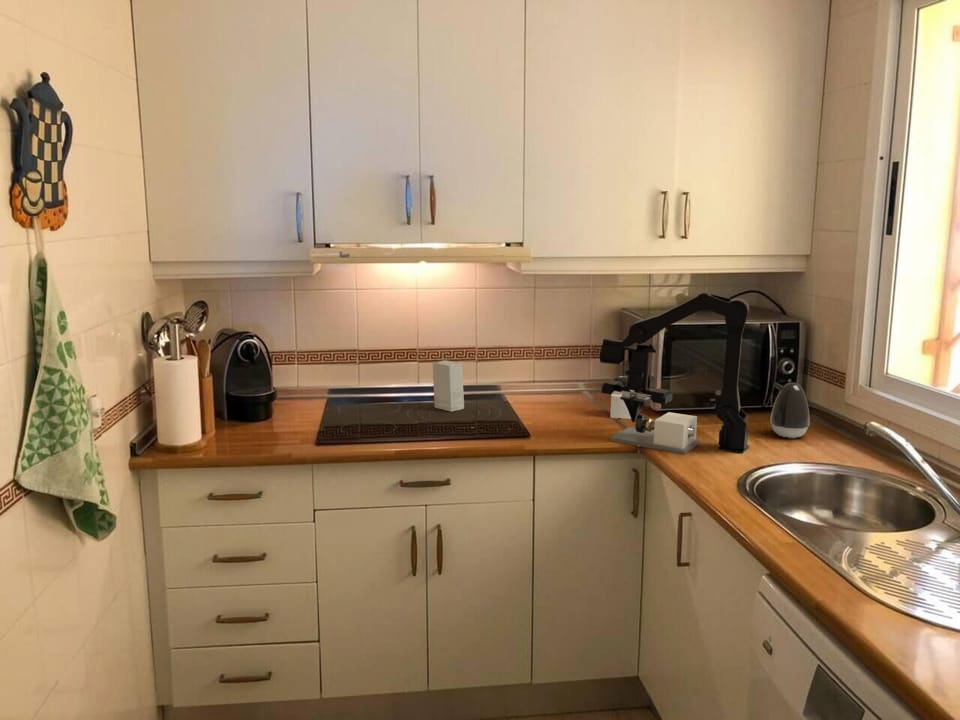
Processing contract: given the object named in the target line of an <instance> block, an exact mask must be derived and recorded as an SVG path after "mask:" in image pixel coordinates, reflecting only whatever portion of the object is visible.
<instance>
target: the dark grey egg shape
mask: <svg viewBox="0 0 960 720" xmlns="http://www.w3.org/2000/svg"><path fill="white" fill-rule="evenodd" d="M773 386H774V387H775V388H776V389H778V390H779V392H778V394H777V396H776V398H775V401H774V403H773V407H772V411H771V415H770V422H769V423H771V428H772V430H773V431H774V433H775V434H776V435H778V436H780V437H781V436H782V438H785V437H788V438H787V439H797V437H798V438H800V437H802V436H803V435H805V433H806V432H807V430H808V428H809V427H810V421H811V420H810V409H809V403H808V400H807V397H806V393H805V391H804V389H803V387H802V386H801V385H800V384H798V383H796V382H789V383H786V384H785V385H784V386H783V385H781V384H779V383H778V382H774V384H773Z"/></svg>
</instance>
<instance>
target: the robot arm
mask: <svg viewBox="0 0 960 720" xmlns="http://www.w3.org/2000/svg"><path fill="white" fill-rule="evenodd" d="M701 310H708V311H711V312H713V313H715V314H717V315H721V316H724V321H725V322H724V323H725V328H726V334H727V336H726V345H725V346H726V347H725V357H724V369H723V370H724V372H723V379H722V380H723V381H722V383H723V384H722V389H721V390H719V389H716V391H715V394H714V398H715V400H714V401H715V404H714V407H713V411H715V415H716V417H717V418H718V419H719V421H721V422H722V425H721V429H720V430H719V431H718V445H719V446H718V447H717V449H718V450H722V451H728V452H733V453H739V454H744V453H745V452H746V451H747V450H748V449H749V448H750V445H749V444H748V443H749V442H748V440H749V425H748V426H747V424H748V418H749V417H748V416H749V415H748V414H747V413H746V412H745V411H744V410H743V409H742V408H741V402H740V401H741V399H740V392H739V385H738V384H739V377H740V376H739V375H740V374H739V373H740V365H741V364H740V363H741V353H742V352H741V351H742V341H743V340H742V339H743V334H744V333H743V332H744V329H745V326H746V323H747V319H748V316H749V312H750V305H749V303H748V302H747V301H746V300H745V299H743V298H741V297H735V298H728V297H725V296H723V295H722V296H721V295H717V294H713V293H710V292H708V291H702V292H700V293H699V294H698V295H695V296H694V297H692V298H690V299H688V300H686V301H685V302H682V303H681V304H678V305H676V306H675V307H672V308H669V310H666V311H664V312H663V313H662V312H661V313H660V314H656V315H653V316H649V317H647V318H643V319H639V320H637V321H635V322H634V323H633V324H632V325H631V326H630V327H629V329H628V335H627V336H625V337H624V338H623V339H622V340H620V339H617V340H616V339H611V338H604V339H602V345H601V349H600V351H599V362H600V363H601V364H609V365H617V366H618V365H619V366H622V364H623V362H624V363H625V362H627V369H626V370H625V372H624V373H625V375H626V377H627V382H626V385H624V386H623V384H622V382H619V381H614V379H610V380H607V381H606V382H603V383H602V384H601V386H600V388H601V389H600V393H601V394H606V395H611V394H612V393H613V392H614V391H617V392H622V397H620V399H621V400H623V401H624V403H625V405H626V407H627V409H628V411H629V414H630V417H631V419H630V420H631V421H632V423H636V419H637V417H638V415H639V414H641V411H642V408H643V407H644V405H645V404H646V403H647V402H650V401H652V403H654V404H659V405H660V404H661V405H666V404H668V403H670V402H672V401H673V395H674V394H673V392H672V391H671V390H670V389H665V388H656V389H655V386H656V381H657V377H655V376H654V375H651V369H650V362H651V361H650V360H651V353H652V354H656V353H657V352H658V350H659V348H658V347H656V346H655V344H654V342H650V343H649V344H646V342H648V341H649V340H651V339H652V338H654V337H655V336H656V335H657V334H658V333H660V332H661V331H662V330H664V329H665V328H667V327H669V326H672V325H673V324H676V323H677V322H679V321H681V320H683V319H685V318H687V317H689V316H690V317H691V316H692V315H694V314H695V313H698V312H700V311H701ZM634 344H637V345H636V346H633V345H634ZM652 389H653V390H652ZM654 389H655V390H654ZM630 390H632V391H630Z"/></svg>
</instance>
